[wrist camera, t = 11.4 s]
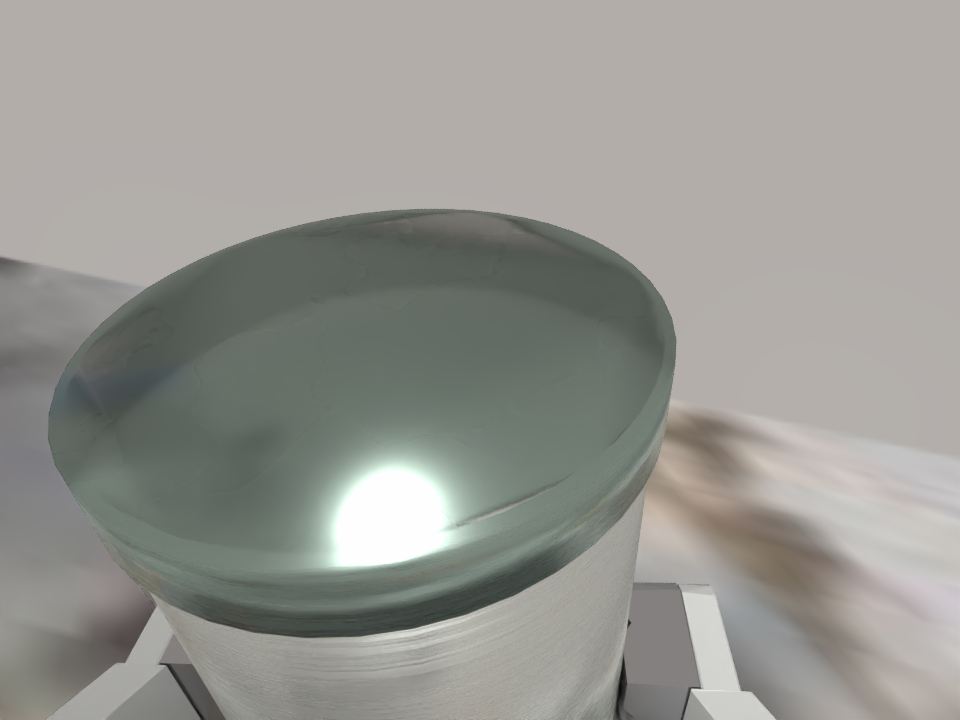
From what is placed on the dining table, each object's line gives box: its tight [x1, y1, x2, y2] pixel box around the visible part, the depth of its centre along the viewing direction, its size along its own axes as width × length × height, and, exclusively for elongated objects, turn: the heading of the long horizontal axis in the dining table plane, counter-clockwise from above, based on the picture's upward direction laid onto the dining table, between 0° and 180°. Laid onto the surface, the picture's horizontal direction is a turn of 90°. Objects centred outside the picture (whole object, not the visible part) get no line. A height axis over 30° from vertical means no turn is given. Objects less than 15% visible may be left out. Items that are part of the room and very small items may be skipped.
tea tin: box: [48, 209, 676, 720], centre depth 10 cm, size 6×6×14 cm
